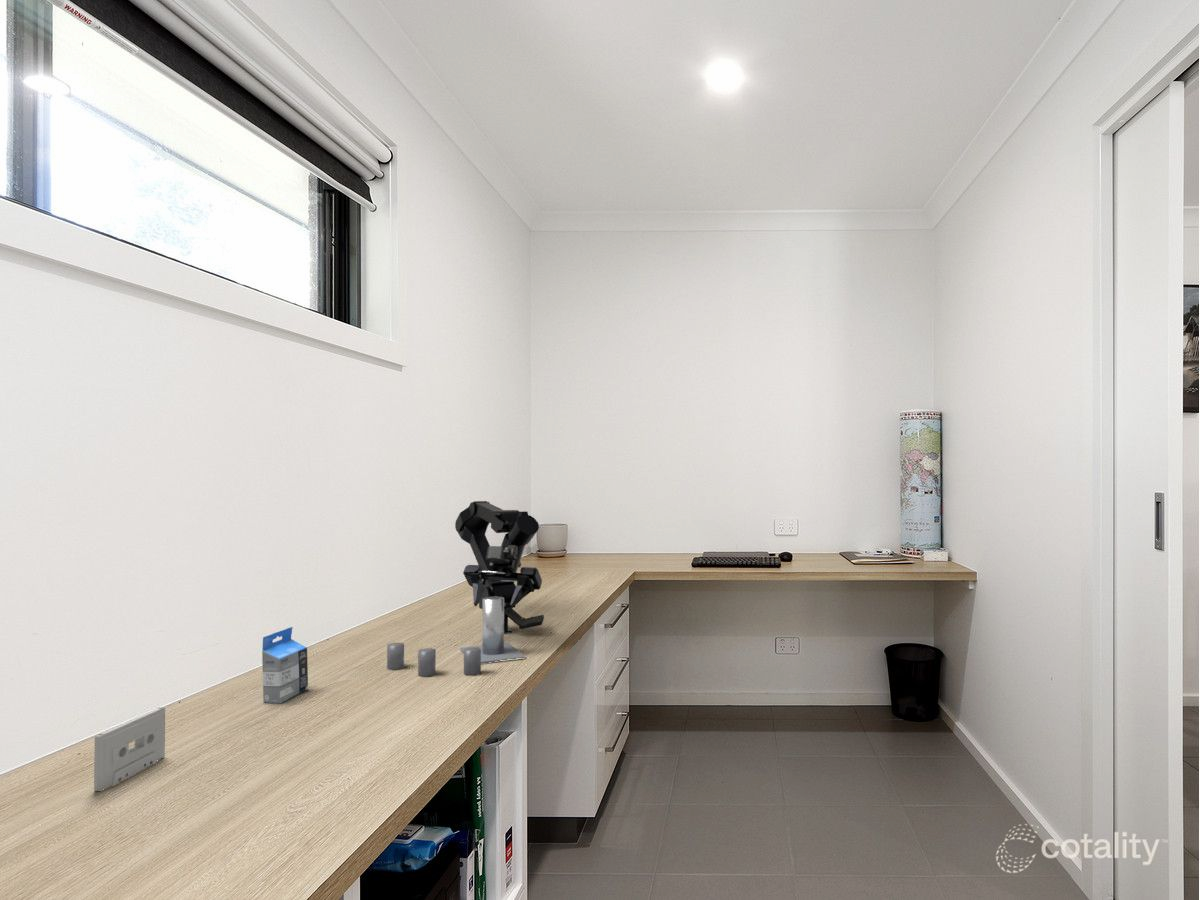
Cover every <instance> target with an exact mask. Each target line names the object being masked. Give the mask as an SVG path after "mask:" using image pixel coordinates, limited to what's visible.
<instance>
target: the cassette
mask: <svg viewBox="0 0 1200 900" xmlns="http://www.w3.org/2000/svg"><path fill="white" fill-rule="evenodd" d="M133 742H134V746H132V747H129V744H131V743H133ZM165 756H166V708H165V707H156V708H155V709H152V710H149V711H148V712H146V713H143V714H141V715H139V716H137V717H135V718H134V717H133V718H132V719H130V720H128V721H125V722H123V723H120V724H119V725H116V726H114V727H112V728H110V729H106V730H105V731H103V732H100V733H98V734H96V735H95V737H94V757H93V760H94V769H93V770H94V771H93V772H94V773H93V777H94V778H93V791H94V792H95V791H101V792H103V791H104V790H103V789H105V788H107V789H109V788H111V787H110V786H113V787H115V786H116V784H117V783H119V782H121V781H122V782H124V781H126V780H127V779H126V778H128V779H130V778H131V777H130V776H132V777H133V776H135V775H137V774H138V773H137V772H139V773H140V771H141V770H143V769H145V768H146V769H148V768H150V767H152V766H153V765H152V764H154V763H156V762H157V763H158V761H157V760H159V759H161V758H163V757H164V758H165ZM164 758H163V759H164ZM161 760H162V759H161ZM159 761H160V760H159ZM157 763H156V764H157ZM151 765H152V766H151ZM154 765H155V764H154ZM149 766H150V767H149ZM147 767H148V768H147ZM146 769H145V770H146ZM143 771H144V770H143ZM141 772H142V771H141ZM136 773H137V774H136ZM134 774H135V775H134ZM129 777H130V778H129ZM125 779H126V780H125ZM123 780H124V781H123ZM122 782H121V783H122ZM119 784H120V783H119ZM114 785H115V786H114ZM117 785H118V784H117ZM108 787H109V788H108ZM102 790H103V791H102ZM105 790H106V789H105Z"/></svg>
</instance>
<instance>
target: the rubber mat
mask: <svg viewBox="0 0 1200 900" xmlns="http://www.w3.org/2000/svg"><path fill="white" fill-rule="evenodd" d="M471 647H477V648H480V649H481V665H483V664H482V663H487V664H490V663H489V662H495V661H500V660H507V659H516V658H525V657H526V656H525V655H524V654H522V652H520V651H519V650H518V649H517V648H515V647H514V646H513V645H512V644H511V643H510V642H506V643H505V642H504V653H502V654H498V655H486V654H483V653H482V645H474V646H473V645H472V646H464V647H459V650H460V652H461V653H462V654H463V655H464V649H466V648H471Z"/></svg>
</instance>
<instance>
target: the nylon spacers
mask: <svg viewBox="0 0 1200 900" xmlns="http://www.w3.org/2000/svg"><path fill="white" fill-rule="evenodd" d="M470 647H471V648H466V649H464V654H463V675H464V676H468V675H473V676H477V674H479V675H481V673H482V664H481V649H480V648H477V647H473V646H470ZM436 652H437V651H436V648H429V647H427V648H421V649H418V651H417V655H418V656H417V660H418V661H417V675H418V676H419V677H422V678H423V677H424V678H427V677H428V676H429V677H433V676H435V675H436V674H437V673H436V671H437V669H436V666H437V665H436V662H437V661H436V660H437V656H436ZM404 668H405V643H404V642H391V643H388V644H386V669H387V670H389V671H395V670H401V669H404ZM429 677H428V678H429Z"/></svg>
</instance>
